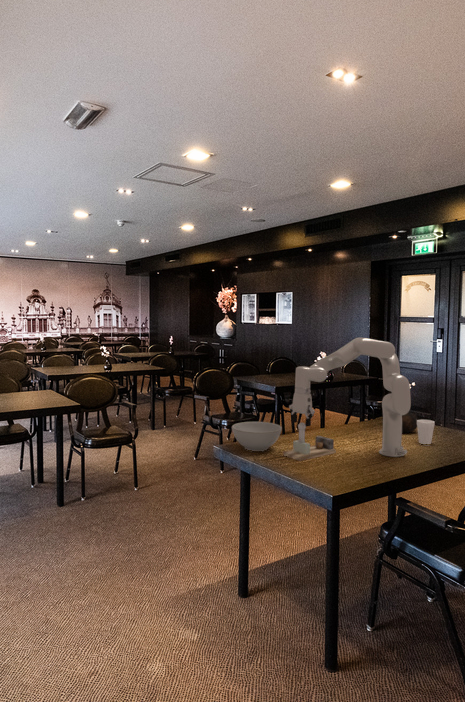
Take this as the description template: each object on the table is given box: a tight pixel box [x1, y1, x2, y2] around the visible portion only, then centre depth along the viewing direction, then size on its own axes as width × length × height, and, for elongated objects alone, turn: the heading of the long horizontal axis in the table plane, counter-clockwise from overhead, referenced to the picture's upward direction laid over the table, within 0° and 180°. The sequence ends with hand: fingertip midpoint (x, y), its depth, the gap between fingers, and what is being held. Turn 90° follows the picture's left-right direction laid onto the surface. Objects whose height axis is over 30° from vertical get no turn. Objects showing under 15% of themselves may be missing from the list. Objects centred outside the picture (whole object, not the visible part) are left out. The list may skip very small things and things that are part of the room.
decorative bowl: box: [231, 421, 283, 452], centre depth 266 cm, size 27×27×12 cm
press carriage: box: [292, 422, 311, 454], centre depth 252 cm, size 9×4×15 cm, turn 37°
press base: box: [282, 435, 337, 462], centre depth 256 cm, size 12×26×7 cm, turn 127°
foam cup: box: [416, 419, 436, 445], centre depth 280 cm, size 10×9×13 cm
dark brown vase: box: [402, 411, 419, 434], centre depth 311 cm, size 18×18×28 cm
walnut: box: [315, 441, 323, 449], centre depth 261 cm, size 4×4×3 cm
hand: (301, 424), depth 252 cm, fingers open, 9 cm apart
